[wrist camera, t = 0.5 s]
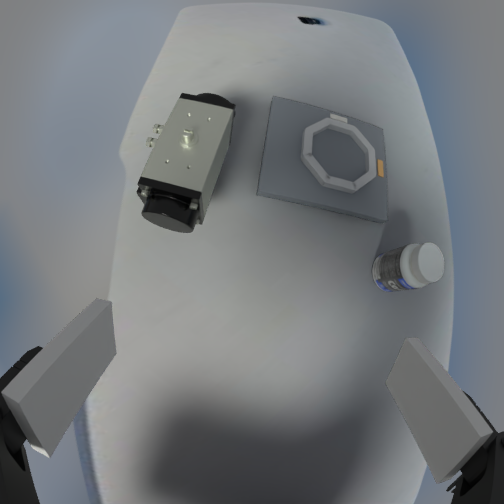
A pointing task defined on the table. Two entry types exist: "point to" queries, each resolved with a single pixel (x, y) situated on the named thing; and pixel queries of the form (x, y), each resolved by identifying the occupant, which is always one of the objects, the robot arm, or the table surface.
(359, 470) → the table surface
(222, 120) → the pneumatic valve
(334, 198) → the slate board
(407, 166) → the table surface
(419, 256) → the pill bottle
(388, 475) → the table surface
